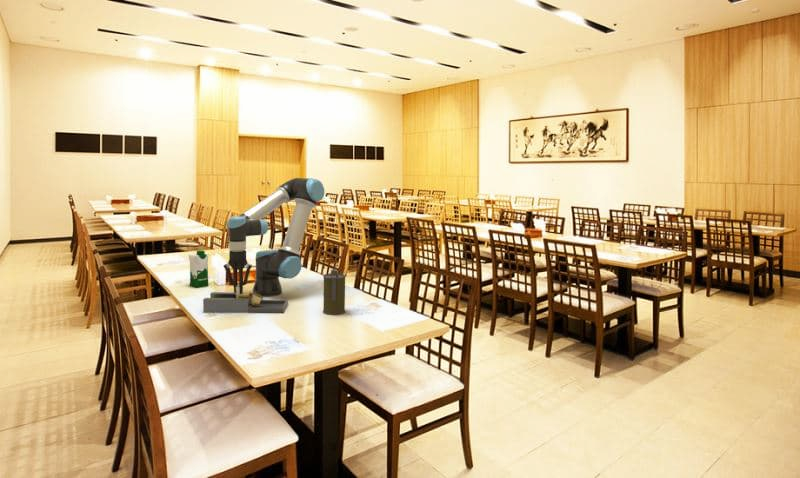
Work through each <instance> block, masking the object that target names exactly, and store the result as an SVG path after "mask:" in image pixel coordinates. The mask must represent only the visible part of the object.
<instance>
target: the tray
mask: <svg viewBox="0 0 800 478" xmlns="http://www.w3.org/2000/svg"><path fill="white" fill-rule="evenodd" d="M288 306H289V299H288V300H287V299H285V300H284V299H262V301H261V303H260V305H259V306H258V307H257V306H254V305H252V304H251V305H250V306H249V308H248V313H247V314H284V313H285V312H286V309H287V307H288Z"/></svg>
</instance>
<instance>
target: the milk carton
mask: <svg viewBox="0 0 800 478" xmlns="http://www.w3.org/2000/svg"><path fill="white" fill-rule="evenodd" d="M187 255H188V261H189V287H191V288H195V289H200V288H205V287H209V267H208V266H209V264H208V263H209V255H210V254H208V253H205V250H201V249H200V250H197V251H196V253H189V254H187Z"/></svg>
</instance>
